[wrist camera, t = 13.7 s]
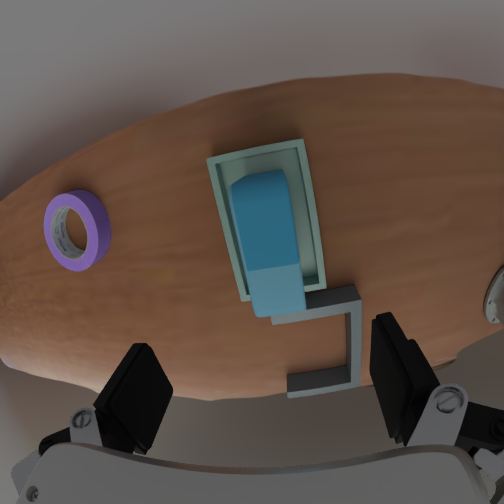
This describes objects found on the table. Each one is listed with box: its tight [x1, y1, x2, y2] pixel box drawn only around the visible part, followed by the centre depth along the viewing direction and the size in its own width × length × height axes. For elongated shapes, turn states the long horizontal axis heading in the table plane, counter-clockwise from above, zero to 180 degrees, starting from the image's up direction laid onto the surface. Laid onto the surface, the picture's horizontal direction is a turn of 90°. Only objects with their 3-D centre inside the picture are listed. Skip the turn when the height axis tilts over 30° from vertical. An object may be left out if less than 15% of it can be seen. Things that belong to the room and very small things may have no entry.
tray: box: [206, 139, 327, 301], centre depth 31 cm, size 11×18×3 cm, turn 12°
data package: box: [229, 170, 306, 317], centre depth 27 cm, size 12×4×12 cm, turn 11°
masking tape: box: [44, 190, 111, 271], centre depth 34 cm, size 12×12×4 cm
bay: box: [271, 285, 362, 398], centre depth 36 cm, size 12×16×4 cm
